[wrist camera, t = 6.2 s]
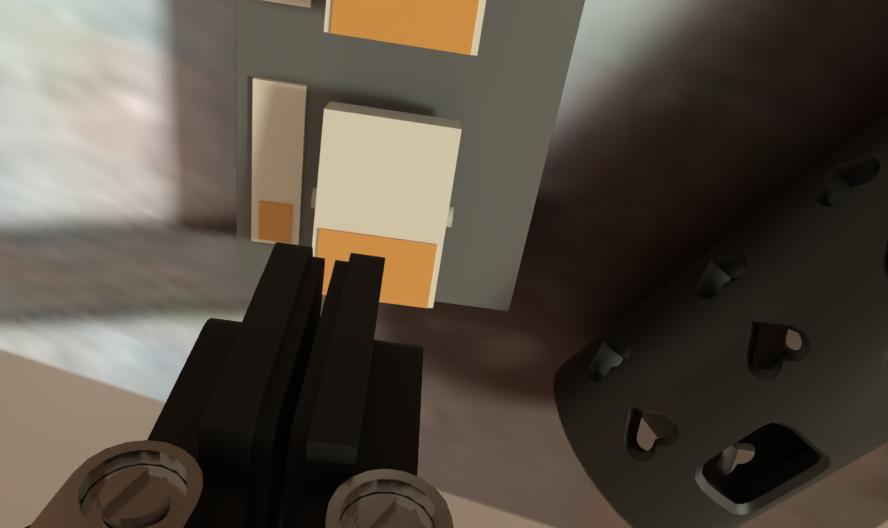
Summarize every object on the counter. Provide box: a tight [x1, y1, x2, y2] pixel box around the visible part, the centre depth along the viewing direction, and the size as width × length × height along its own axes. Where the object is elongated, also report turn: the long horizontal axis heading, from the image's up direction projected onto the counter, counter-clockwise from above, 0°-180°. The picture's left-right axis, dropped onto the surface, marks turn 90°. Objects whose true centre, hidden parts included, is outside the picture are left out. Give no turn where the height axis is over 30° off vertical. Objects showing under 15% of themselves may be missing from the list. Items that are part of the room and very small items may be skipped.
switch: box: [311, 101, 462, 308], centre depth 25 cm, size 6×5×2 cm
